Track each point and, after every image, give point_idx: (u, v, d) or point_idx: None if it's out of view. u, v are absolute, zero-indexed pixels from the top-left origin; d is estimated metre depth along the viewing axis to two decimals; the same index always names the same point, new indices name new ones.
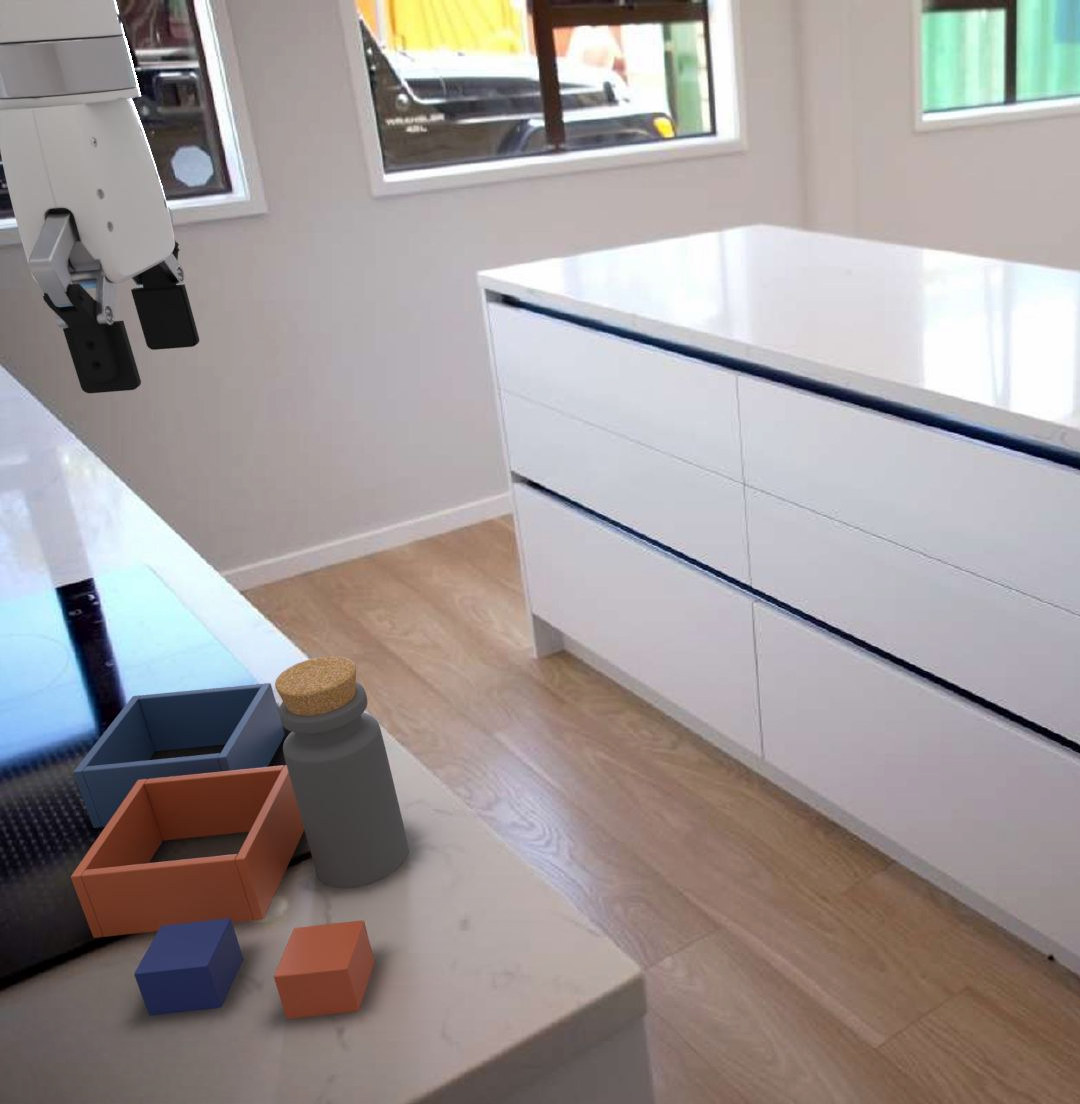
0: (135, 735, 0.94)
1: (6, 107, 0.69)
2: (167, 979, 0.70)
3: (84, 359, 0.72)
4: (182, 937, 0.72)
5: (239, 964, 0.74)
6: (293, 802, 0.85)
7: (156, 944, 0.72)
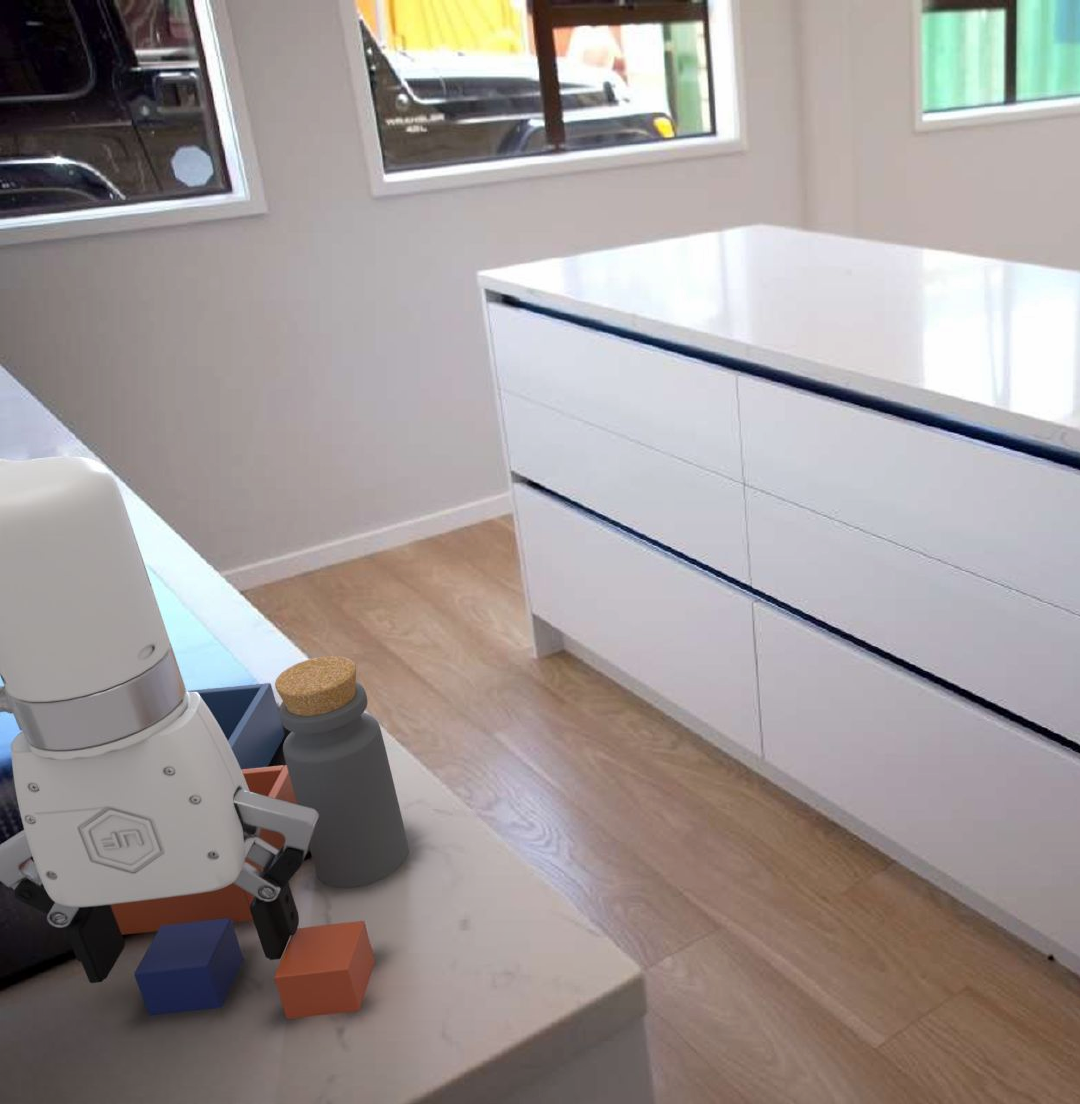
0: None
1: (160, 729, 0.64)
2: (167, 979, 0.70)
3: (286, 918, 0.71)
4: (182, 937, 0.72)
5: (239, 964, 0.74)
6: (293, 802, 0.85)
7: (156, 944, 0.72)
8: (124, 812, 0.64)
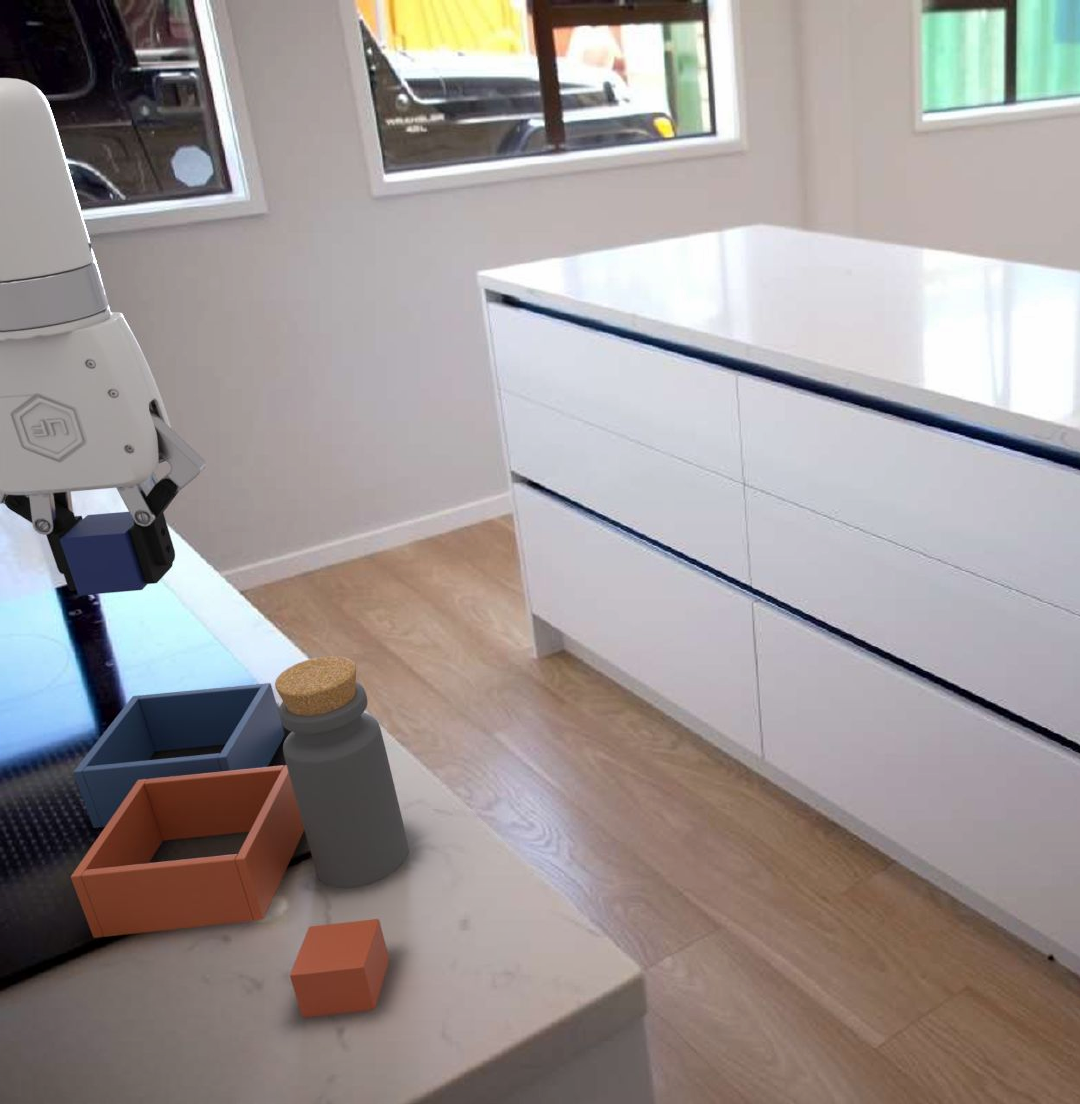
0: (135, 735, 0.94)
1: (83, 326, 0.74)
2: (89, 546, 0.79)
3: (162, 547, 0.81)
4: (105, 520, 0.81)
5: None
6: (293, 802, 0.85)
7: (82, 524, 0.81)
8: (51, 401, 0.74)
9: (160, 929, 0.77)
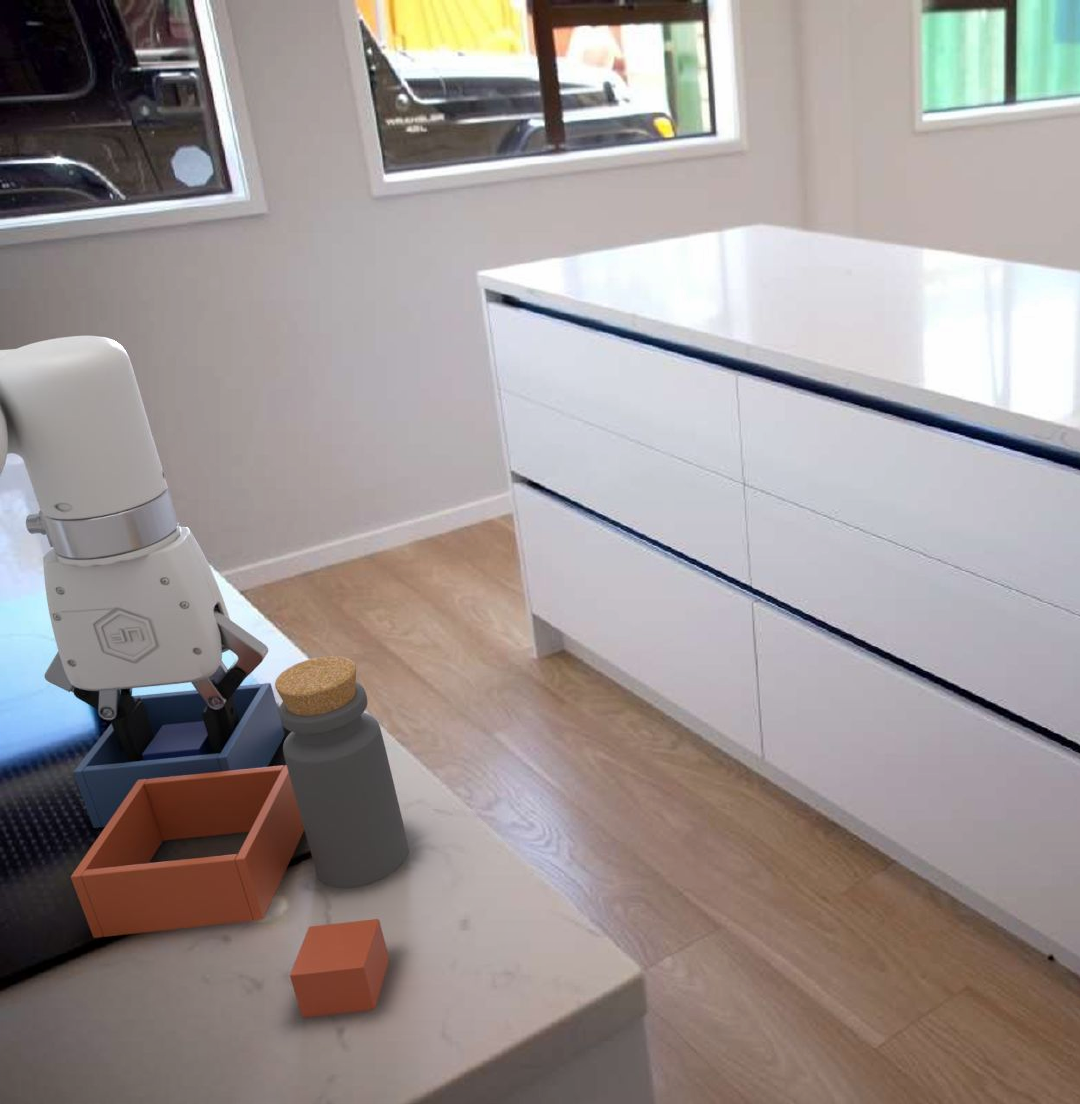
0: None
1: (158, 548, 0.83)
2: None
3: (231, 725, 0.91)
4: (179, 732, 0.92)
5: None
6: (293, 802, 0.85)
7: (159, 736, 0.91)
8: (129, 613, 0.84)
9: (160, 929, 0.77)
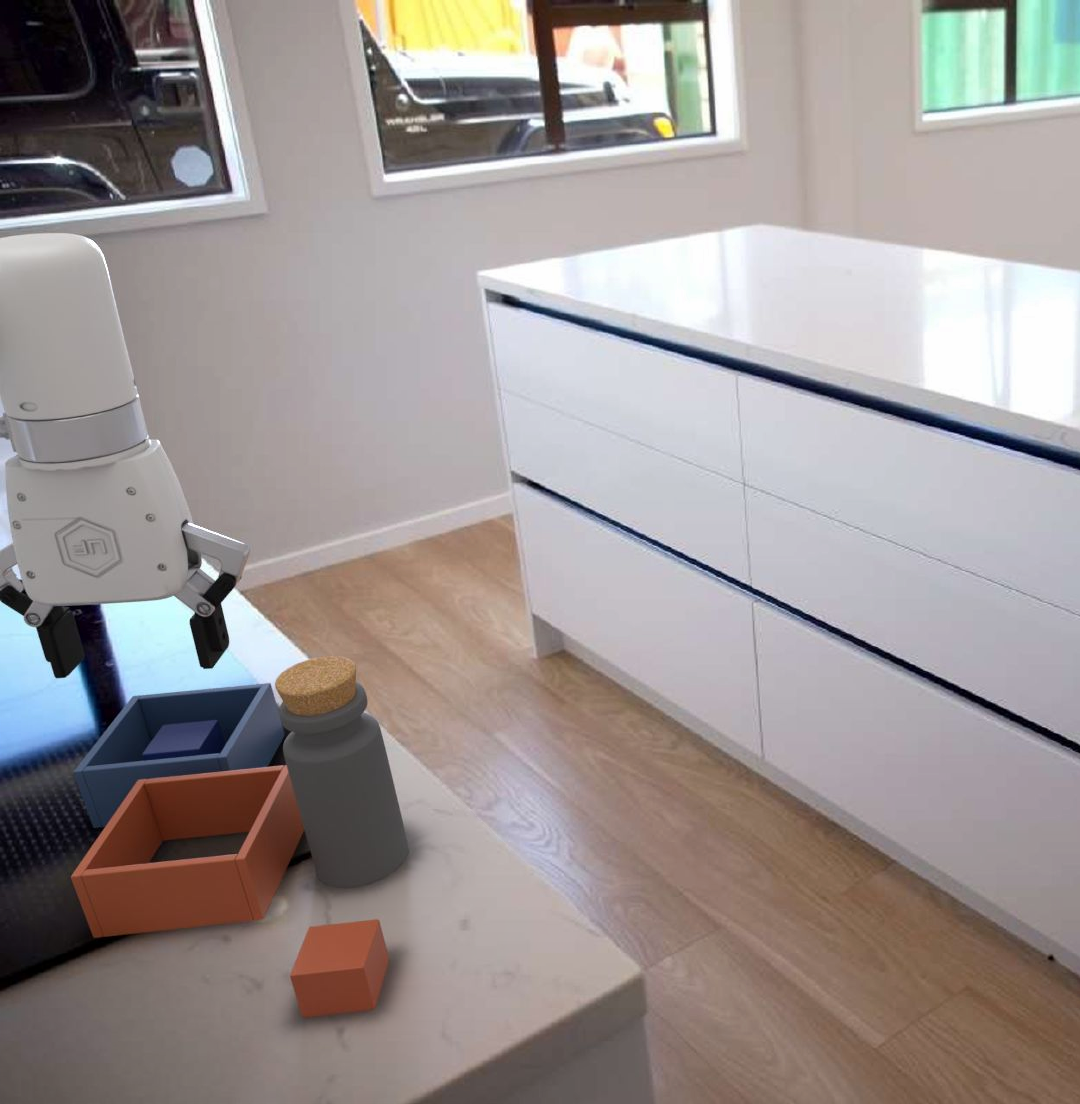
0: (135, 735, 0.94)
1: (125, 457, 0.80)
2: None
3: (219, 635, 0.87)
4: (179, 732, 0.92)
5: None
6: (293, 802, 0.85)
7: (159, 736, 0.91)
8: (93, 523, 0.81)
9: (160, 929, 0.77)
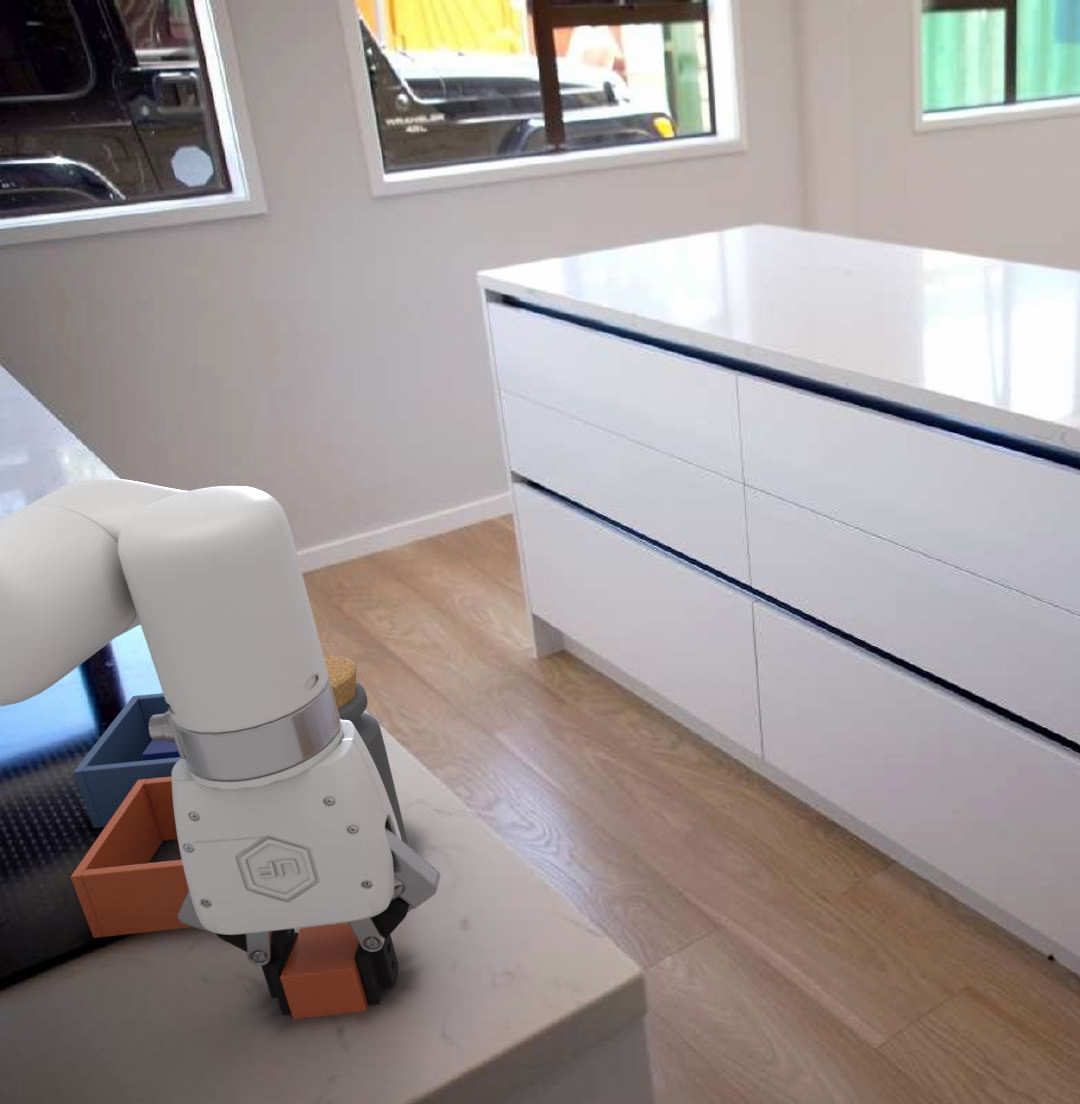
0: (135, 735, 0.94)
1: (321, 759, 0.64)
2: None
3: (388, 967, 0.71)
4: None
5: None
6: None
7: None
8: (282, 841, 0.64)
9: (160, 929, 0.77)
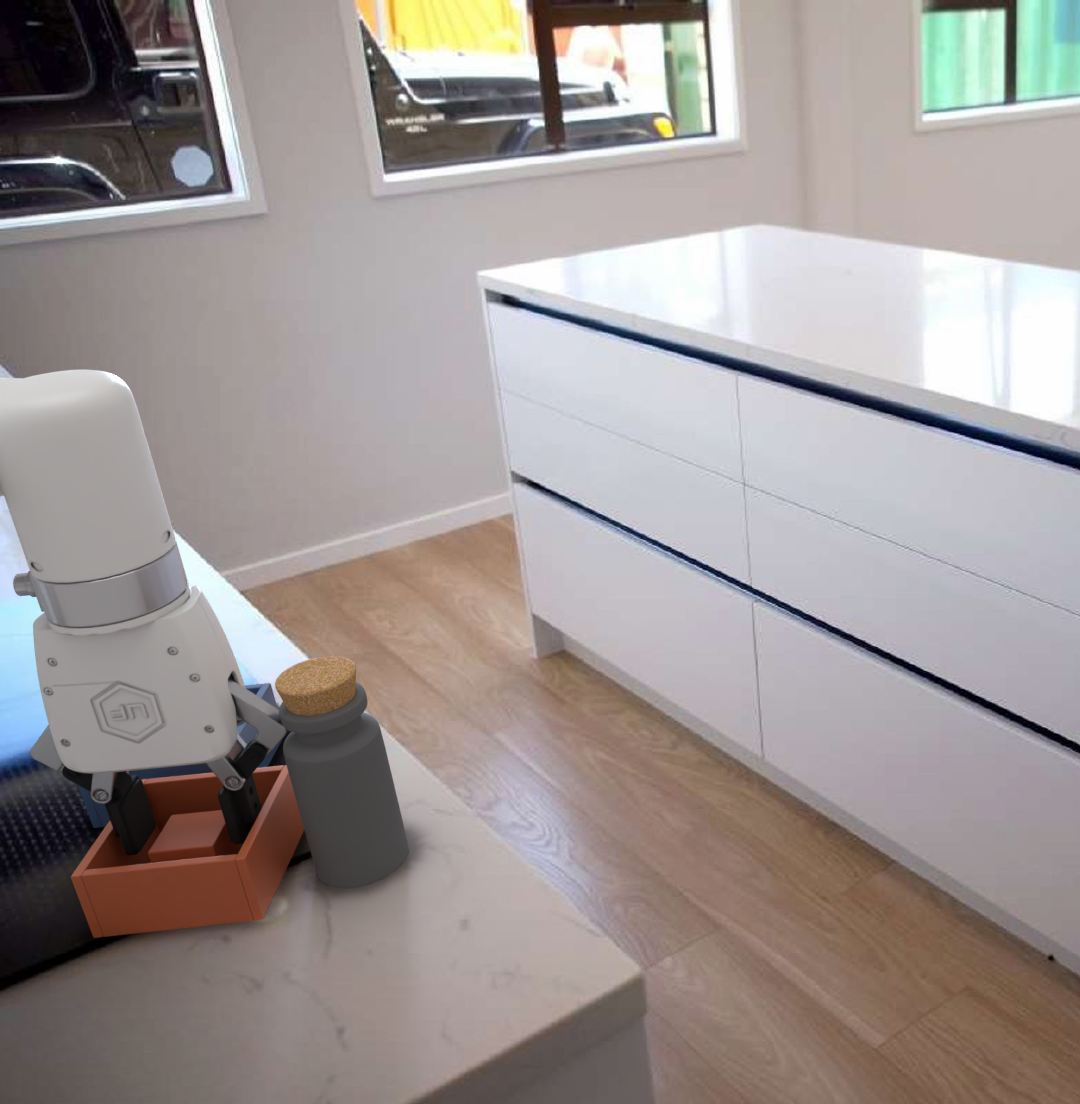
0: None
1: (165, 614, 0.72)
2: None
3: (250, 807, 0.80)
4: None
5: None
6: (293, 802, 0.85)
7: None
8: (132, 687, 0.73)
9: (160, 929, 0.77)
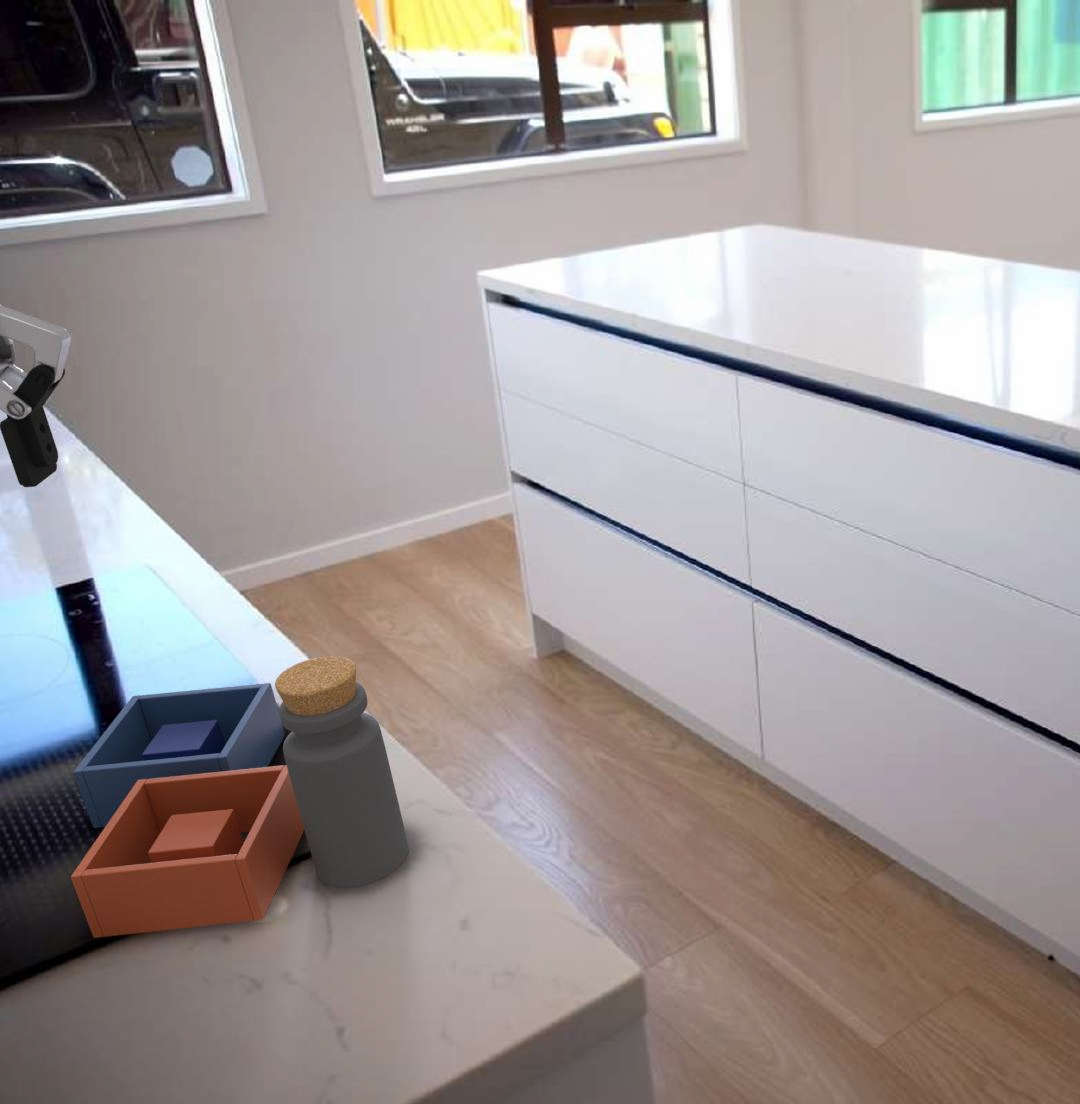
0: (135, 735, 0.94)
1: None
2: None
3: (41, 445, 0.71)
4: (179, 732, 0.92)
5: None
6: (293, 802, 0.85)
7: (159, 736, 0.91)
8: None
9: (160, 929, 0.77)
